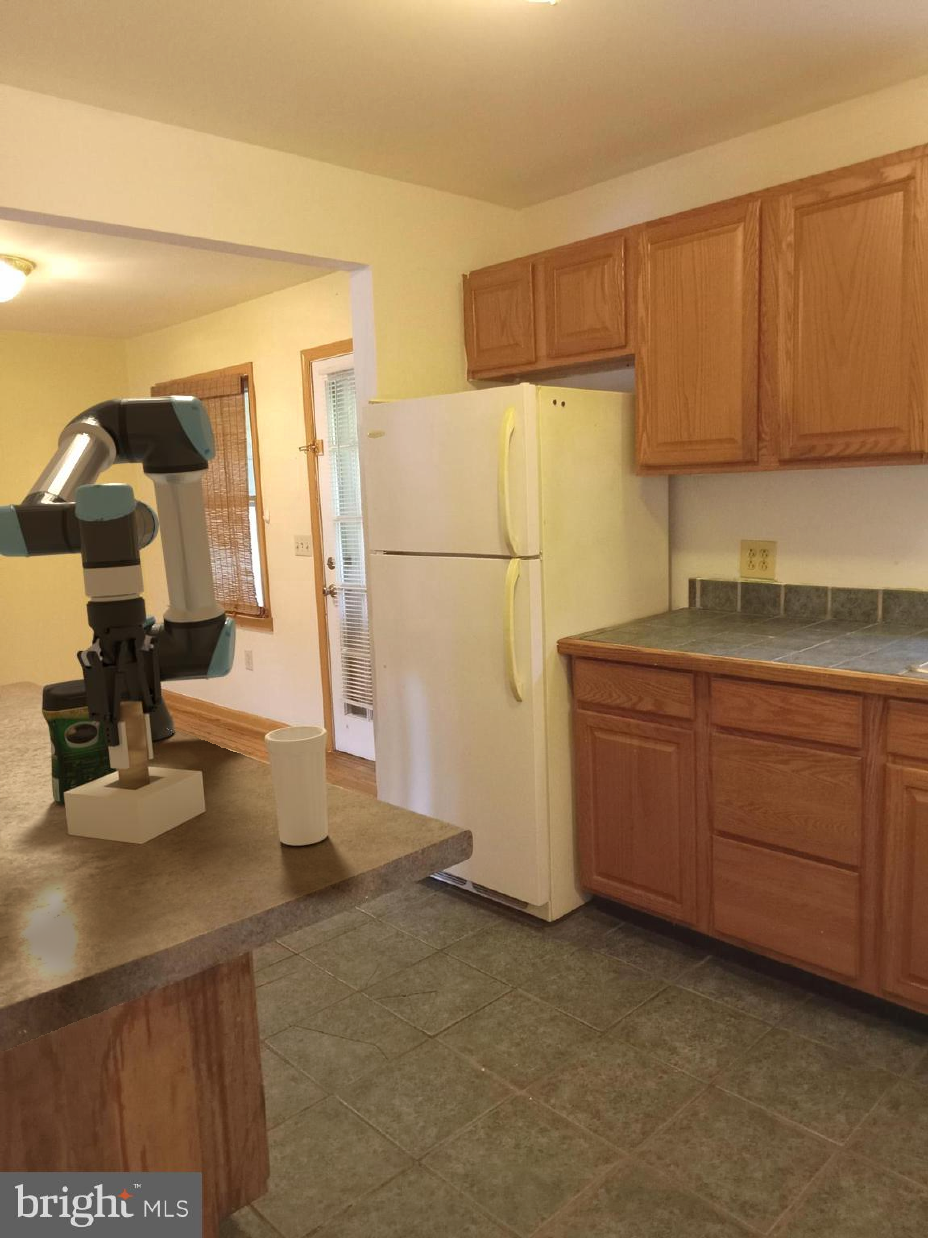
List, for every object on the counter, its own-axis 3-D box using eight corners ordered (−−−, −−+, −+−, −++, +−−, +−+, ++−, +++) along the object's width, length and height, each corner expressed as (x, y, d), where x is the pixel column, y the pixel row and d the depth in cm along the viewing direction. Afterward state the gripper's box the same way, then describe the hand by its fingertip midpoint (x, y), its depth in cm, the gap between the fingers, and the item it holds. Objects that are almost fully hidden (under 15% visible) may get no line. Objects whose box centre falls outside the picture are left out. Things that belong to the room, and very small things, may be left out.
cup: (267, 835, 121) (258, 731, 119) (326, 824, 124) (318, 722, 122) (279, 856, 113) (270, 745, 111) (342, 843, 116) (334, 735, 115)
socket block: (136, 803, 137) (132, 765, 136) (205, 811, 132) (201, 771, 131) (68, 834, 125) (63, 792, 124) (141, 844, 120) (137, 800, 119)
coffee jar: (114, 784, 147) (102, 672, 145) (123, 797, 140) (111, 679, 138) (49, 797, 142) (36, 681, 140) (56, 810, 136) (41, 689, 133)
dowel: (134, 782, 130) (125, 700, 129) (156, 784, 128) (147, 701, 127) (113, 790, 126) (104, 706, 125) (135, 793, 125) (127, 708, 123)
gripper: (138, 590, 133) (154, 745, 136) (44, 605, 118) (64, 779, 121) (179, 590, 130) (193, 748, 133) (88, 605, 115) (107, 783, 118)
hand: (132, 762), depth 127 cm, fingers closed on dowel, 4 cm apart
